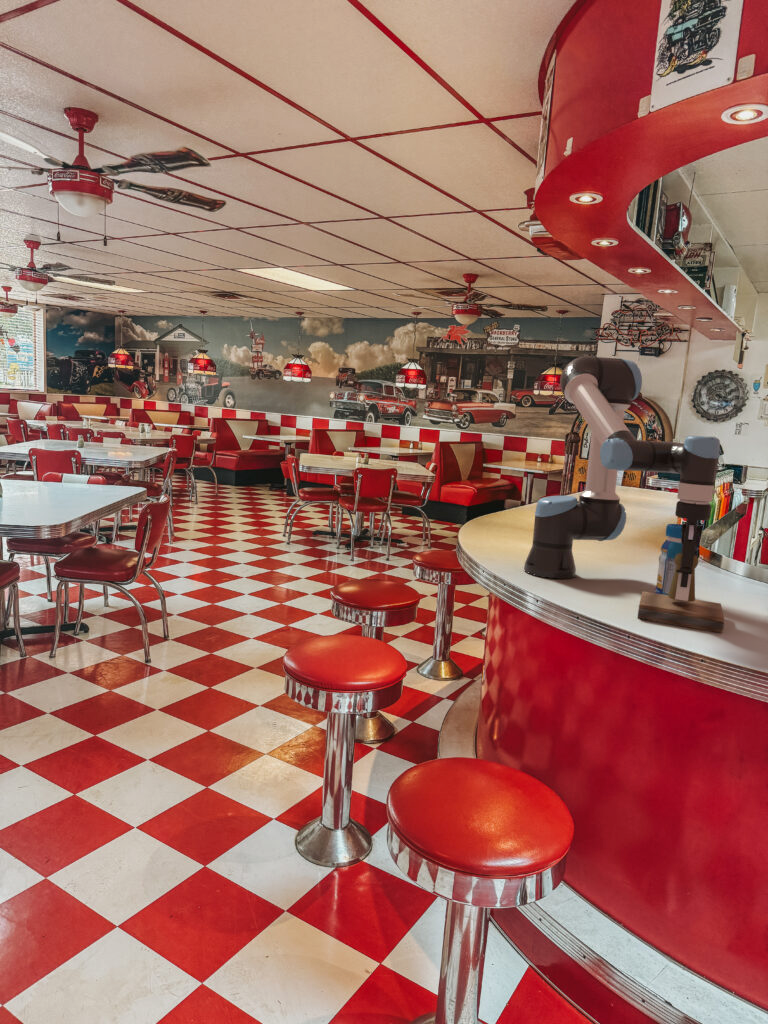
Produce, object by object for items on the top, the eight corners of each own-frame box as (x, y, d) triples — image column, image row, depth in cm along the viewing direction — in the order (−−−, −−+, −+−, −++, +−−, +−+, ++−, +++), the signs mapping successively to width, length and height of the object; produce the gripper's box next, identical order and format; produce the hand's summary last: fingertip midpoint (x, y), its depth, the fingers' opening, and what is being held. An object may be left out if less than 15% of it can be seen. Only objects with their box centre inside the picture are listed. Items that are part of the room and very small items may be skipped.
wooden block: (637, 619, 152) (639, 605, 152) (640, 604, 166) (642, 591, 165) (722, 634, 145) (724, 619, 145) (718, 617, 159) (720, 603, 158)
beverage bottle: (673, 604, 168) (683, 529, 165) (647, 595, 176) (656, 523, 173) (695, 601, 172) (705, 528, 169) (668, 593, 180) (677, 522, 177)
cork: (693, 596, 157) (699, 552, 156) (696, 603, 152) (702, 557, 150) (666, 593, 159) (672, 549, 157) (668, 599, 153) (674, 554, 152)
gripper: (714, 507, 142) (699, 609, 145) (710, 499, 159) (697, 590, 162) (676, 503, 145) (663, 603, 148) (677, 496, 162) (665, 585, 165)
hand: (681, 596), depth 155 cm, fingers closed on cork, 6 cm apart
